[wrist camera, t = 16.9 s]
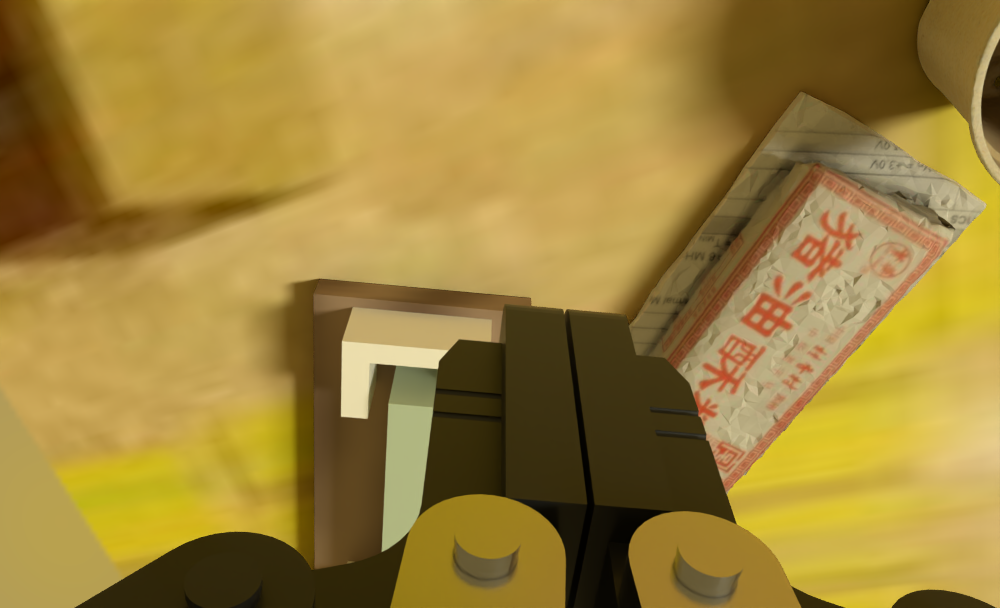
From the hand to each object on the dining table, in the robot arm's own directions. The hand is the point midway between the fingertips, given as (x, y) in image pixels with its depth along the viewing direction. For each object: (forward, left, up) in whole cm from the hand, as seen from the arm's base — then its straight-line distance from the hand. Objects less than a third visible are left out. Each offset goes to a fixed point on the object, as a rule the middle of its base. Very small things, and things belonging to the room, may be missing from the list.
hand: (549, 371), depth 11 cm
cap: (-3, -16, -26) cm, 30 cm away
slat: (-3, -24, -26) cm, 35 cm away
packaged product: (+13, -12, -28) cm, 33 cm away
